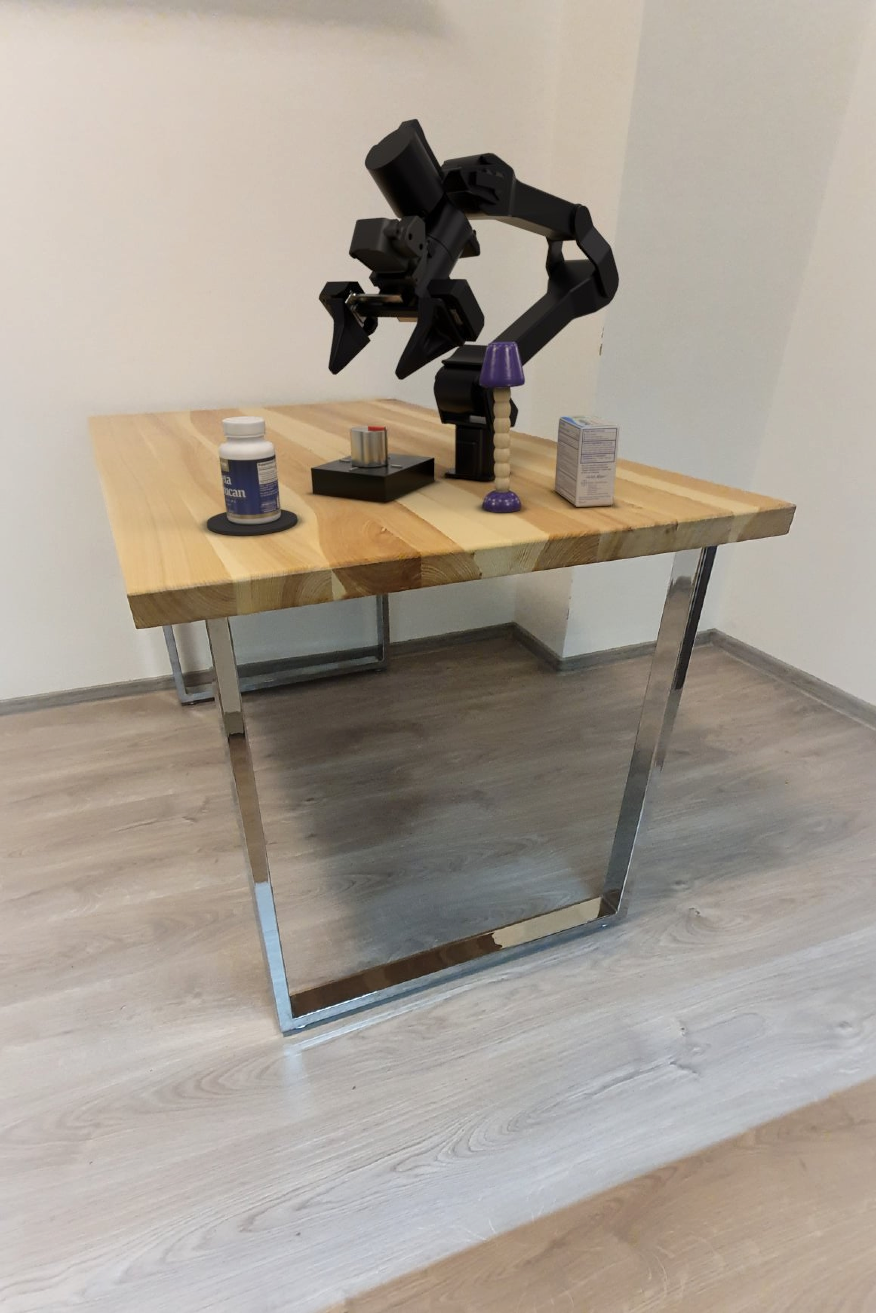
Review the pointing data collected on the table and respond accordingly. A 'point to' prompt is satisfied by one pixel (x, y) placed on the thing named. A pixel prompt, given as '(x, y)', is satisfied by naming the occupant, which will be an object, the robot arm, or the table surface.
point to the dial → (369, 446)
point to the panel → (373, 478)
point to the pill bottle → (249, 472)
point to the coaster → (227, 527)
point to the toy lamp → (502, 418)
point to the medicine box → (586, 460)
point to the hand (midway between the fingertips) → (363, 374)
